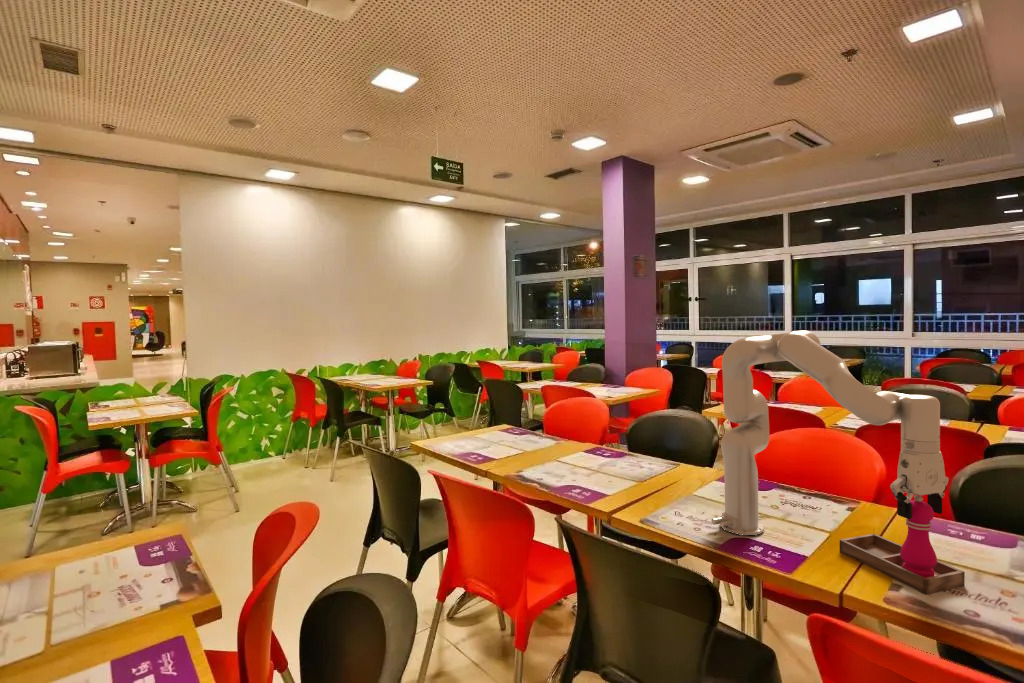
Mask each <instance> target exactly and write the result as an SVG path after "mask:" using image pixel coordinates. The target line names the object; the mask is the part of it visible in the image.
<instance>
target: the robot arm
mask: <svg viewBox="0 0 1024 683" xmlns="http://www.w3.org/2000/svg"><path fill="white" fill-rule="evenodd" d="M721 359H722V360H721V370H722V385H723V386H722V390H723V411H724V415H725V417H726V419H727V420H728V421H729V422H731V423H734V424H738V426H735V427H732V428H731V429H729V430H728V431H726V432H725V433H724V434H723V436H722V438H721V442H720V448H721V453H722V459H723V470H724V471H723V473H724V474H723V476H724V477H723V478H724V511H723V512H721V515H720V516H719V517H712V518H711V520H710V522H711V524H712V525H719V527H720V526H721V527H722V528H723V529H725V530H727V531H730V532H733V533H738V534H743V535H755V536H758V535H757V534H760V533H762V532H763V533H764V532H765V526H764V524H762V523H761V522H760V521H759V479H758V478H759V474H758V473H759V472H758V466H757V462H756V458H755V455H756V454H758V453H761V452H763V451H764V450H765V449H767V447H768V446H769V442H770V420H769V406H768V405H769V404H768V402H767V401H768V400H767V398H766V397H765V396H764V395H763V394H762V392H760V391H758V390H757V389H754V377H753V374H752V370H751V367H752V366H755V365H756V366H757V365H762V364H766V363H776V362H784V361H785V362H786V361H787V362H789V363H790V364H792V365H793V367H795V368H797V369H798V370H800V371H801V372H802V373H804V374H806V375H807V376H809V377H810V378H812V379H813V380H814V381H815V382H817V383H818V384H820V386H822V387H823V390H824V391H826V392H827V394H829V395H830V397H831V398H833V400H835V401H836V403H837V404H839V405H840V406H842V407H843V408H844V409H845V410H847V411H849V412H850V413H851V414H853V415H854V416H855V417H857V418H859V420H862V422H863V421H864V422H865V423H868V424H870V425H873V426H883V425H886V424H888V423H890V422H892V421H898V420H899V421H900V451H899V458H898V464H897V477H896V478H897V479H895V480H894V481H892V483H890V485H889V487H890V489H891V491H892V495H893V496H894V497H895V498H894V499H895V500H896V502H897V504H896V505H897V506H896V507H897V508H896V509H897V510H896V511H897V512H896V514H897V516H899V517H902V518H905V519H906V518H907V519H912V503H910V501H911V500H913V499H912V498H914V496H915V495H917V496H926V495H927V502H926V503H927V504H929V505H930V506H931V507H932V509H933V511H934V514H935V513H936V514H938V515H940V514H941V515H942V514H943V498H944V497H945V492H946V491H947V489H948V488H947V485H948V483H949V480H950V478H949V477H948V476H946V471H945V469H946V468H945V463H944V459H943V458H944V456H943V454H942V452H941V402H940V400H939V399H938V398H937V397H936V396H932V395H925V394H906V393H900V392H896V391H895V392H894V391H889V390H888V391H887V390H880V391H877V392H875V391H874V390H871V389H870V388H868V387H867V386H865V384H863V383H861V381H859V380H857V379H856V378H855V376H853V374H852V373H851V372H850V371H849V368H848V366H847V363H846V362H845V360H844V359H842V358H841V357H839V356H838V355H836V354H835V353H833V352H831V351H830V350H828V349H827V348H826V347H824V346H822V345H821V341H820V338H819V337H818V336H817V335H816V334H815V333H813V332H812V331H809V330H803V329H802V330H793V331H789V332H785V333H783V332H782V333H774V334H765V335H758V336H757V335H755V336H747V337H743V338H739V339H738V340H736V341H734V342H732V343H731V344H729V346H727V347H726V349H725V351H724V353H723V355H722V358H721ZM905 493H906V495H905ZM721 527H720V528H721ZM722 528H721V529H722ZM723 529H722V530H723ZM725 530H724V531H725ZM727 531H726V532H727ZM763 533H762V534H763ZM760 535H761V534H760Z"/></svg>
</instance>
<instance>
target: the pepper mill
mask: <svg viewBox="0 0 1024 683" xmlns="http://www.w3.org/2000/svg"><path fill="white" fill-rule="evenodd" d="M913 499H914V500H913ZM913 499H911V500H910V503H912V519H907V518H905V525H906V526H907V535H906V538H905V540H904V542H903V543H902V544H901V545H902V547H901V550H900V557H901V558H902V560H903V561H904V562H905V563H903V568H905V569H907V570H909V571H911V572H913V573H915V574H918V575H920V576H922V577H924V578H928V577H932V576H934V570H933V569H932V568H933V567H934V566H936V564H937V560H938V557H937V554H936V552H935V549H934V548H933V545H932V544H931V543H932V542H931V540H930V531H931V530H932V523H931V521H933V519H934V517H935V512H934V511H933V509H932V507H931V506H930V505H929V504H927V502H925V501H924V497H923V495H921V496H917V495H915V494H914V495H913Z"/></svg>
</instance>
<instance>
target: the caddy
mask: <svg viewBox="0 0 1024 683" xmlns="http://www.w3.org/2000/svg"><path fill="white" fill-rule="evenodd" d="M902 545H903V544H900V543H897V542H895V541H892V540H890V539H887V538H885V537H884V536H880V535H878V534H876V533H870V534H864V535H859V536H854V537H846V538H841V539H839V553H841V554H842V555H845V556H847V557H849V558H851V559H853V560H855V561H857V562H859V563H861V564H863V565H864V566H867V567H869V568H871V569H873V570H875V571H877V572H879V573H881V574H883V575H886V576H887V577H889V578H891V579H893V580H895V581H897V582H899V583H901V584H903V585H905V586H908V587H909V588H911V589H913V590H916V591H918V592H919V593H921V594H923V595H926V596H927V594H928V595H932V594H936V593H941V592H945V591H950V590H953V589H958V587H959V588H963V587H965V580H966V579H965V577H966V576H965V571H964V570H961V569H959V568H956V567H953V566H951V565H949V564H947V563H945V562H943V561H939V560H938V559H937V564H936V566H934V567H933V568H932V569H933V570H934V576H932V577H928V578H924V577H922V576H920V575H918V574H915V573H913V572H911V571H909V570H907V569H905V568H903V563H905V562H904V561H903V560H902V558H901V557H900V550H901V547H902ZM962 586H963V587H962ZM940 591H941V592H940Z"/></svg>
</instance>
